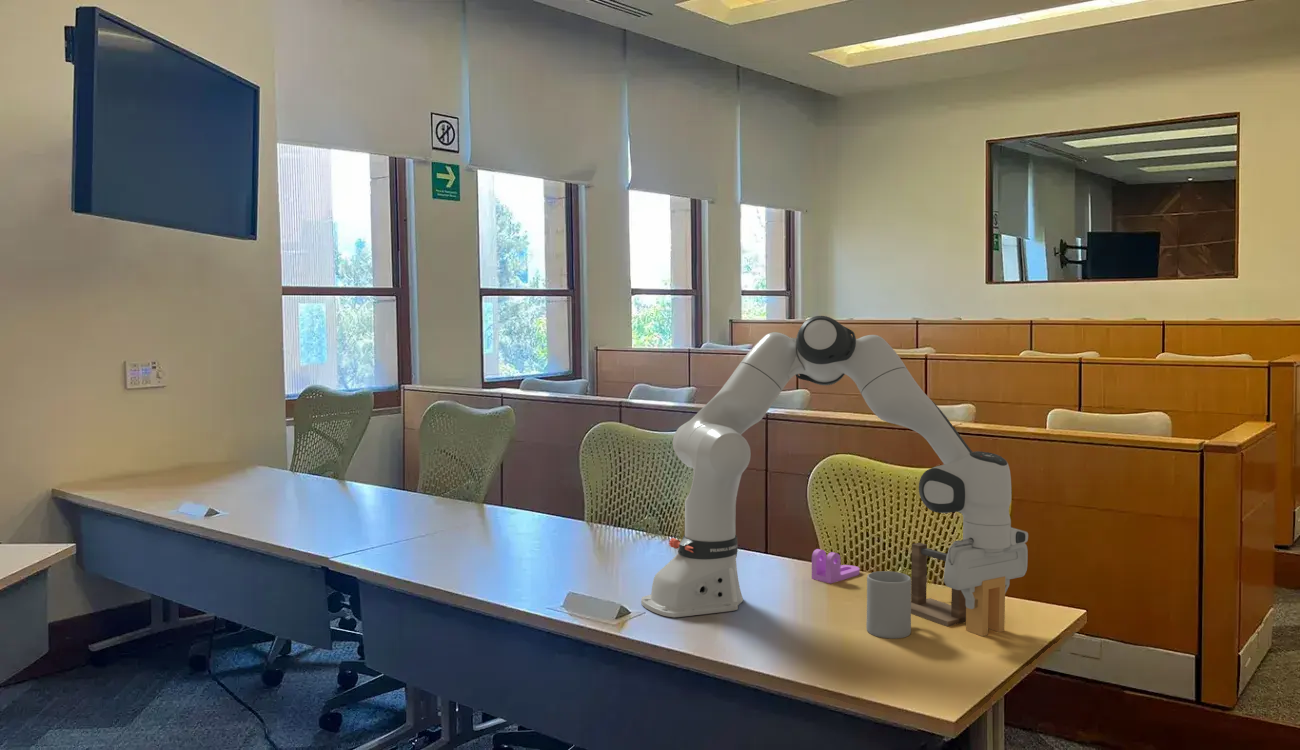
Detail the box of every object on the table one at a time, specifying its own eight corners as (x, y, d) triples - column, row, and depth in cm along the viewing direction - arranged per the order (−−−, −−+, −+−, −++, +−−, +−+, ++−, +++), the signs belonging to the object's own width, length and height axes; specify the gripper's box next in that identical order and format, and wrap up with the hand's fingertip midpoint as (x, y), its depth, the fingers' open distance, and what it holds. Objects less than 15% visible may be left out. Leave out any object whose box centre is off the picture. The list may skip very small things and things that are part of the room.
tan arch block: (982, 636, 183) (983, 581, 183) (965, 630, 187) (966, 576, 186) (1004, 630, 186) (1005, 576, 186) (987, 624, 190) (988, 572, 189)
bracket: (830, 584, 220) (830, 554, 220) (811, 579, 224) (811, 550, 224) (864, 573, 229) (864, 545, 228) (845, 569, 233) (845, 541, 232)
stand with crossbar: (947, 626, 189) (948, 559, 188) (899, 609, 200) (900, 546, 199) (978, 619, 194) (979, 553, 193) (930, 602, 205) (930, 540, 204)
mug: (901, 641, 180) (902, 585, 180) (859, 633, 185) (859, 578, 185) (923, 624, 190) (923, 571, 190) (882, 617, 195) (883, 565, 194)
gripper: (962, 545, 177) (961, 617, 178) (1034, 532, 188) (1032, 600, 189) (936, 538, 183) (935, 608, 184) (1007, 526, 193) (1006, 592, 194)
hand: (985, 604), depth 186 cm, fingers closed on tan arch block, 6 cm apart
